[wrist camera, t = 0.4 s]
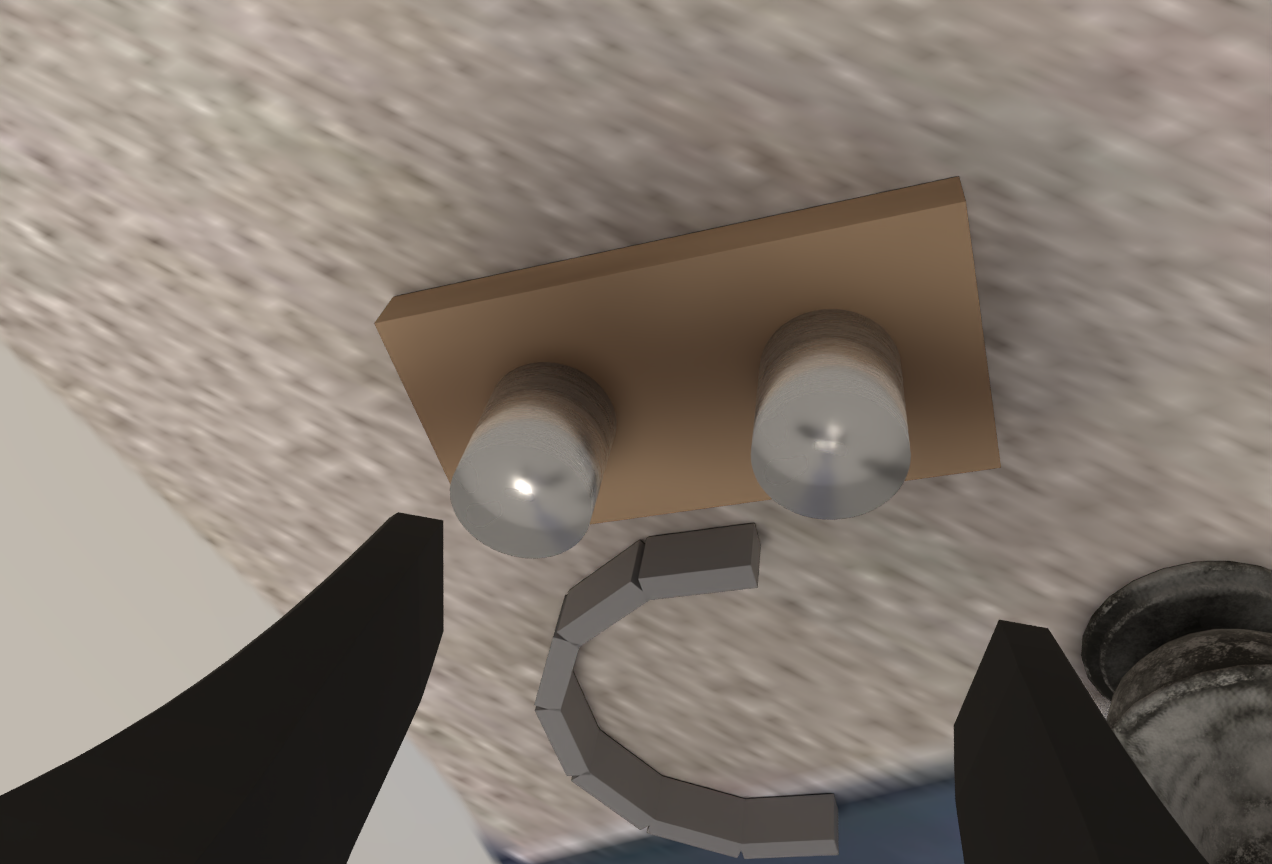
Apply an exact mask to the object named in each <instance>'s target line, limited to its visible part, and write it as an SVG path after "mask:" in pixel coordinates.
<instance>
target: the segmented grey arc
mask: <svg viewBox="0 0 1272 864" xmlns="http://www.w3.org/2000/svg"><path fill="white" fill-rule="evenodd" d="M760 550H761V544H760V541H759V537H758V534H757V530H756V527H755V524H754V523H752V524H745V525H737V526H730V527H722V528H715V529H707V530H699V531H692V532H684V533H677V534H669V535H661V536H654V537H647V540H646V544H644V543H642V542H641V541H640V540H639V541H638V542H636V543H635V544H634V545H632V546H631V547H629V548H628V549H627V550H625V551H624V552H622V553H621V554H620V555H618V556H617V557H615V558H614V559H613V560H611V561H610V562H608V563H607V564H606V565H604V566H603V567H601V568H600V569H599V570H597V571H596V572H594V573H593V574H592V575H590V576H589V577H587V578H586V579H585V580H583V581H582V582H580V583H579V584H577V585H576V586H575V587H573V588H572V589H570V590H569V591H568V595H567V596H565V598H564V601H563V605H562V608H561V612H560V615H559V619H558V622H557V625H556V629H555V632H554V636H553V639H552V643H551V647H550V650H549V654H548V657H547V661H546V665H545V668H544V672H543V675H542V679H541V683H540V686H539V690H538V693H537V697H536V701H535V704H534V705H535V706H536V708H535V712H536V714H537V716H538V718H539V720H540V722H541V724H542V726H543V728H544V730H545V732H546V734H547V737H548V739H549V741H550V743H551V745H552V747H553V749H554V751H555V753H556V755H557V757H558V759H559V761H560V763H561V765H562V767H563V769H564V771H565V773H566V775H567V776H572V779H571V781H572V782H574V783H575V784H576V785H578V786H579V787H581V788H582V789H583V790H585V791H586V792H588V793H589V794H590V795H592V796H593V797H595V798H596V799H597V800H599V801H600V802H602V803H603V804H604V805H606V806H607V807H609V808H610V809H611V810H613V811H614V812H616V813H617V814H619V815H620V816H621V817H623V818H624V819H626V820H627V821H628V822H630V823H631V824H633V825H634V826H635V827H637V828H638V829H640V830H641V829H643V828H645V827H647V826H648V829H647V833H649V834H652V835H656V836H659V837H663V838H667V839H670V840H674V841H677V842H681V843H685V844H688V845H692V846H696V847H699V848H703V849H706V850H710V851H714V852H717V853H721V854H725V855H728V856H732V857H735V858H737V857H738V855H739V853H740V851H742V854H743V856H744V859H752V858H776V857H799V856H823V855H839V848H838V807H837V804H836V800H835V797H834V794H824V795H806V796H789V797H772V798H755V799H743V798H739V797H735V796H732V795H728V794H725V793H721V792H717V791H714V790H710V789H707V788H703V787H699V786H696V785H692V784H689V783H685V782H681V781H678V780H674V779H671V778H667V777H663V776H661V775H660V774H658V773H657V772H656V771H654V770H653V769H652V768H650V767H649V766H648V765H646V764H645V763H644V762H642V761H641V760H639V759H638V758H637V757H635V756H634V755H633V754H631V753H630V752H629V751H627V750H626V749H625V748H623V747H622V746H621V745H619V744H618V743H616V742H615V741H614V740H612V739H611V738H610V737H608V736H607V735H606V734H604V733H603V732H602V731H600V730H599V728H598V726H597V724H596V722H595V719H594V717H593V715H592V713H591V711H590V708H589V706H588V704H587V702H586V699H585V697H584V695H583V693H582V691H581V688H580V686H579V684H578V682H577V679H576V677H575V675H574V673H573V671H572V670H573V667H574V663H575V660H576V657H577V653H578V650H579V647H580V646H582V645H583V644H585V643H586V642H588V641H589V640H591V639H592V638H594V637H595V636H597V635H598V634H600V633H601V632H603V631H604V630H606V629H607V628H609V627H610V626H611V625H613V624H614V623H616V622H617V621H619V620H620V619H622V618H623V617H625V616H626V615H628V614H629V613H631V612H632V611H634V610H635V609H637V608H638V607H640V606H641V605H643V604H644V603H646V602H647V601H649V600H655V599H664V598H672V597H681V596H690V595H699V594H707V593H716V592H725V591H733V590H742V589H751V588H758V576H759V563H760Z"/></svg>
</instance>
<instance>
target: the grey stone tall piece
mask: <svg viewBox="0 0 1272 864" xmlns="http://www.w3.org/2000/svg"><path fill="white" fill-rule="evenodd" d="M1081 656H1082V660H1083V663H1084V666H1085V669H1086V672H1087V675H1088V678H1089V680H1090V681H1091V682H1092V683H1093V685H1094V686H1095V687H1096V688H1097V690H1098V691H1099V692H1100V693H1101V695H1103V696H1104V697H1106V698H1107V699H1109V700H1110V701H1111V705H1110V709H1109V712H1108V716H1107V723H1108V724H1109V726H1110V727H1111V729H1112V730H1113V732H1114V733H1115V735H1116V736H1117V738H1118V739H1119V741H1120V742H1121V744H1122V745H1123V747H1124V748H1125V750H1126V751H1127V753H1128V754H1129V756H1130V757H1131V758H1132V760H1133V761H1134V763H1135V764H1136V766H1137V767H1138V769H1139V770H1140V772H1141V773H1142V775H1143V776H1144V778H1145V779H1146V780H1147V782H1148V783H1149V785H1150V786H1151V788H1152V789H1153V790H1154V792H1155V793H1156V795H1157V796H1158V797H1159V799H1160V800H1161V802H1162V803H1163V804H1164V806H1165V807H1166V809H1167V810H1168V811H1169V813H1170V814H1171V815H1172V817H1173V818H1174V819H1175V821H1176V822H1177V823H1178V824H1179V826H1180V827H1181V828H1182V830H1183V831H1184V832H1185V834H1186V835H1187V836H1188V838H1189V839H1190V840H1191V842H1192V843H1193V844H1194V845H1195V847H1196V848H1197V849H1198V851H1199V852H1200V853H1201V854H1202V856H1203V857H1204V858H1205V859H1206V861H1207V862H1208V863H1209V864H1272V571H1271V570H1268V569H1266V568H1263V567H1261V566H1255V565H1249V564H1243V563H1237V562H1231V561H1217V562H1194V563H1189V564H1184V565H1179V566H1174V567H1170V568H1165V569H1161V570H1159V571H1157V572H1154V573H1152V574H1149V575H1147V576H1144V577H1142V578H1139V579H1137V580H1135V581H1133V582H1131V583H1130V584H1128V585H1127V586H1125V587H1124V588H1122V589H1121V590H1119V591H1118V592H1116V593H1115V594H1113V595H1112V596H1110V597H1109V598H1108V599H1107V600H1106V601H1105V603H1104V604H1103V605H1102V606H1101V607H1100V608H1099V609H1098V610H1097V611H1096V612H1095V613H1094V615H1093V616H1092V618H1091V620H1090V622H1089V624H1088V626H1087V628H1086V630H1085V632H1084V635H1083V641H1082V654H1081Z"/></svg>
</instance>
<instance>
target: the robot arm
mask: <svg viewBox="0 0 1272 864" xmlns="http://www.w3.org/2000/svg"><path fill="white" fill-rule="evenodd" d="M442 634H443V520H438V519H432V518H427V517H421V516H416V515H410V514H404V513H399V512H398V513H396V514H395V515H393V516H392V517H390V518H389V519H388V520H387V521H386V522H385V523H384V524H383V525H382V526H381V527H380V528H379V529H378V530H377V531H376V532H375V533H374V534H373V535H372V536H371V537H370V538H369V539H368V540H367V541H366V542H365V543H363V544H362V545H361V546H360V547H359V548H358V549H357V550H356V551H355V552H354V553H353V554H352V555H351V556H350V557H349V558H348V559H347V560H346V561H345V562H344V563H342V564H341V565H340V566H339V567H338V568H337V569H336V570H335V571H334V572H333V573H332V574H331V575H330V576H329V577H327V578H326V579H325V580H324V581H323V582H322V583H321V584H320V585H318V586H317V587H316V588H315V589H314V590H313V591H312V592H310V593H309V594H308V595H307V596H306V597H305V598H304V599H302V600H301V601H300V602H299V603H298V604H297V605H296V606H295V607H293V608H292V609H291V610H290V611H289V612H288V613H287V614H285V615H284V616H283V617H282V618H281V619H279V620H278V621H277V622H276V623H275V624H273V625H272V626H271V627H270V628H268V629H267V630H266V631H264V632H263V633H262V634H261V635H259V636H258V637H257V638H256V639H254V640H253V641H252V642H251V643H249V644H248V645H247V646H245V647H244V648H243V649H242V650H240V651H239V652H238V653H237V654H235V655H234V656H233V657H232V658H230V659H229V660H228V661H226V662H225V663H224V664H222V665H221V666H219V667H218V668H217V669H215V670H214V671H213V672H211V673H210V674H208V675H207V676H206V677H204V678H203V679H201V680H200V681H199V682H197V683H196V684H194V685H193V686H191V687H190V688H188V689H187V690H186V691H184V692H183V693H181V694H180V695H178V696H177V697H175V698H174V699H172V700H171V701H169V702H168V703H166V704H165V705H163V706H162V707H160V708H158V709H157V710H155V711H154V712H152V713H150V714H149V715H147V716H145V717H144V718H142V719H141V720H139V721H137V722H136V723H134V724H132V725H131V726H129V727H127V728H126V729H124V730H123V731H121V732H120V733H118V734H116V735H114V736H113V737H111V738H110V739H108V740H106V741H104V742H103V743H101V744H99V745H97V746H95V747H94V748H92V749H90V750H88V751H87V752H85V753H83V754H81V755H80V756H78V757H76V758H74V759H72V760H70V761H68V762H66V763H64V764H62V765H60V766H58V767H56V768H54V769H52V770H50V771H48V772H47V773H45V774H43V775H41V776H39V777H37V778H35V779H33V780H31V781H29V782H27V783H25V784H23V785H21V786H19V787H17V788H15V789H13V790H11V791H9V792H7V793H5V794H3V795H1V796H0V864H347V861H348V859H349V856H350V854H351V851H352V849H353V847H354V845H355V842H356V840H357V838H358V836H359V834H360V832H361V829H362V827H363V825H364V823H365V821H366V819H367V817H368V815H369V812H370V810H371V808H372V806H373V804H374V802H375V799H376V797H377V795H378V793H379V791H380V789H381V787H382V784H383V782H384V780H385V778H386V776H387V774H388V771H389V769H390V767H391V765H392V763H393V761H394V759H395V756H396V754H397V752H398V750H399V748H400V746H401V743H402V741H403V739H404V737H405V735H406V732H407V730H408V728H409V726H410V724H411V722H412V719H413V717H414V715H415V713H416V710H417V708H418V706H419V704H420V702H421V699H422V696H423V693H424V690H425V687H426V684H427V681H428V678H429V675H430V672H431V669H432V666H433V663H434V660H435V656H436V653H437V650H438V647H439V644H440V640H441V637H442ZM954 771H955V799H956V808H957V815H958V823H959V829H960V836H961V843H962V850H963V856H964V863H965V864H1209V863H1208V862H1207V861H1206V859H1205V858H1204V857H1203V856H1202V854H1201V853H1200V852H1199V851H1198V849H1197V848H1196V847H1195V845H1194V844H1193V843H1192V842H1191V840H1190V839H1189V838H1188V836H1187V835H1186V834H1185V832H1184V831H1183V830H1182V828H1181V827H1180V826H1179V824H1178V823H1177V822H1176V821H1175V819H1174V818H1173V817H1172V815H1171V814H1170V813H1169V811H1168V810H1167V809H1166V807H1165V806H1164V804H1163V803H1162V802H1161V800H1160V799H1159V797H1158V796H1157V795H1156V793H1155V792H1154V790H1153V789H1152V788H1151V786H1150V785H1149V783H1148V782H1147V780H1146V779H1145V778H1144V776H1143V775H1142V773H1141V772H1140V770H1139V769H1138V767H1137V766H1136V764H1135V763H1134V761H1133V760H1132V758H1131V757H1130V756H1129V754H1128V753H1127V751H1126V750H1125V748H1124V747H1123V745H1122V744H1121V742H1120V741H1119V739H1118V738H1117V736H1116V735H1115V733H1114V732H1113V730H1112V729H1111V727H1110V726H1109V724H1108V723H1107V721H1106V719H1105V718H1104V716H1103V715H1102V713H1101V712H1100V710H1099V708H1098V707H1097V705H1096V704H1095V702H1094V701H1093V699H1092V697H1091V696H1090V694H1089V693H1088V691H1087V689H1086V688H1085V686H1084V685H1083V683H1082V681H1081V680H1080V678H1079V677H1078V675H1077V673H1076V672H1075V670H1074V669H1073V667H1072V665H1071V664H1070V662H1069V661H1068V659H1067V657H1066V656H1065V654H1064V653H1063V651H1062V649H1061V648H1060V646H1059V645H1058V643H1057V642H1056V640H1055V638H1054V637H1053V635H1052V634H1051V632H1050V631H1049V629H1048V628H1043V627H1037V626H1032V625H1026V624H1020V623H1015V622H1009V621H1004V620H999V621H998V623H997V626H996V628H995V630H994V633H993V635H992V637H991V640H990V642H989V644H988V647H987V649H986V651H985V654H984V656H983V658H982V661H981V663H980V665H979V668H978V670H977V672H976V675H975V677H974V679H973V682H972V684H971V686H970V689H969V691H968V693H967V696H966V698H965V700H964V703H963V705H962V708H961V710H960V712H959V715H958V717H957V719H956V722H955V724H954Z"/></svg>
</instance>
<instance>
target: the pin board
mask: <svg viewBox="0 0 1272 864" xmlns="http://www.w3.org/2000/svg"><path fill="white" fill-rule="evenodd" d="M374 324H375V326H376V328H377V330H378V332H379V334H380V336H381V339H382V341H383V343H384V345H385V347H386V349H387V351H388V353H389V355H390V358H391V360H392V362H393V364H394V366H395V368H396V370H397V372H398V374H399V377H400V379H401V381H402V383H403V385H404V387H405V389H406V391H407V393H408V396H409V398H410V400H411V402H412V404H413V406H414V408H415V410H416V412H417V415H418V417H419V419H420V421H421V423H422V425H423V427H424V429H425V431H426V434H427V436H428V438H429V440H430V442H431V444H432V446H433V448H434V450H435V453H436V455H437V457H438V459H439V461H440V463H441V465H442V467H443V469H444V472H445V474H446V476H447V478H448V480H449V482H450V484H451V485H450V498H451V503H452V507H453V509H454V512H455V514H456V516H457V517H458V519H459V521H460V522H461V523H462V525H463V526H464V527H465V528H466V530H467V531H468V532H469V533H470V534H471V535H473V536H474V537H475V538H476V539H477V540H479V541H480V542H482V543H483V544H485V545H486V546H488V547H490V548H492V549H494V550H496V551H499V552H501V553H504V554H507V555H511V556H515V557H521V558H546V557H551V556H555V555H558V554H561V553H563V552H565V551H567V550H569V549H570V548H572V547H573V546H575V545H576V544H577V543H578V542H579V541H580V540H581V539H582V538H583V536H584V535H585V533H586V531H587V530H588V527H589V524H596V523H603V522H610V521H617V520H625V519H632V518H639V517H647V516H654V515H661V514H668V513H676V512H683V511H690V510H697V509H705V508H712V507H719V506H726V505H734V504H741V503H748V502H755V501H763V500H770V499H773V500H774V501H775V502H777V503H778V504H779V505H781V506H783V507H784V508H786V509H788V510H790V511H792V512H794V513H797V514H800V515H803V516H807V517H811V518H817V519H831V520H835V519H845V518H851V517H855V516H859V515H862V514H865V513H867V512H870V511H872V510H874V509H876V508H878V507H879V506H881V505H882V504H884V503H885V502H887V501H888V500H889V499H890V498H891V497H892V496H893V495H895V493H896V492H897V491H898V490H899V489H900V487H901V486H902V484H903V482H904V481H908V480H915V479H922V478H930V477H937V476H944V475H951V474H959V473H966V472H973V471H980V470H988V469H995V468H1001V464H1000V457H999V449H998V442H997V434H996V427H995V419H994V411H993V404H992V396H991V389H990V381H989V374H988V366H987V359H986V351H985V343H984V336H983V328H982V321H981V313H980V306H979V298H978V290H977V283H976V275H975V268H974V260H973V253H972V245H971V237H970V230H969V222H968V215H967V207H966V201H965V197H964V193H963V189H962V186H961V182H960V178H959V177H954V178H949V179H944V180H940V181H935V182H930V183H926V184H921V185H916V186H912V187H907V188H902V189H898V190H893V191H888V192H883V193H879V194H874V195H869V196H865V197H860V198H855V199H851V200H846V201H841V202H836V203H832V204H827V205H822V206H818V207H813V208H808V209H804V210H799V211H794V212H790V213H785V214H780V215H775V216H771V217H766V218H761V219H757V220H752V221H747V222H743V223H738V224H733V225H728V226H724V227H719V228H714V229H710V230H705V231H700V232H696V233H691V234H686V235H682V236H677V237H672V238H667V239H663V240H658V241H653V242H649V243H644V244H639V245H635V246H630V247H625V248H621V249H616V250H611V251H606V252H602V253H597V254H592V255H588V256H583V257H578V258H574V259H569V260H564V261H559V262H555V263H550V264H545V265H541V266H536V267H531V268H527V269H522V270H517V271H513V272H508V273H503V274H498V275H494V276H489V277H484V278H480V279H475V280H470V281H466V282H461V283H456V284H451V285H447V286H442V287H437V288H433V289H428V290H423V291H419V292H414V293H409V294H405V295H400V296H395V297H393V298H392V299H391V301H390V302H389V304H388V305H387V306H386V308H385V309H384V311H383V312H382V313H381V315H380V316H379V318H378V319H377V320H376V322H375V323H374Z"/></svg>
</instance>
